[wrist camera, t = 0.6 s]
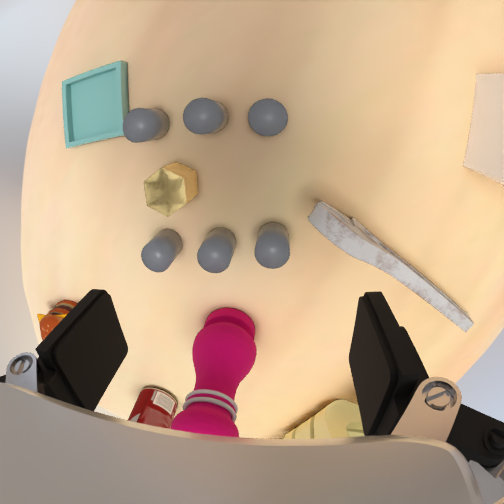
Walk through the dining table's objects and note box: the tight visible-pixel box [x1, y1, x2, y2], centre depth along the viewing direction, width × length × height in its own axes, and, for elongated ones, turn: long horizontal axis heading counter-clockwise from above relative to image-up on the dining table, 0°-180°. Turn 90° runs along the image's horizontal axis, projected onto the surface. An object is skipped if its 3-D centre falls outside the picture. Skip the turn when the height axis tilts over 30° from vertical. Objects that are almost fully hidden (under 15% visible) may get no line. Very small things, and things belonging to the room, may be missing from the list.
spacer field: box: [122, 98, 290, 273], centre depth 27 cm, size 16×15×4 cm
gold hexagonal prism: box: [144, 162, 198, 217], centre depth 27 cm, size 5×4×4 cm
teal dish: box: [62, 61, 129, 148], centre depth 25 cm, size 8×8×2 cm
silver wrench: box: [308, 201, 474, 332], centre depth 28 cm, size 8×2×30 cm
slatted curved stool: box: [284, 399, 365, 439], centre depth 36 cm, size 30×16×18 cm, turn 149°
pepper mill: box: [170, 308, 256, 437], centre depth 27 cm, size 7×7×20 cm
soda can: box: [128, 388, 177, 429], centre depth 39 cm, size 7×7×12 cm
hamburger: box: [37, 300, 77, 340], centre depth 36 cm, size 9×10×7 cm
